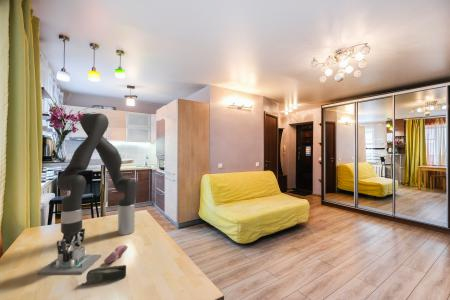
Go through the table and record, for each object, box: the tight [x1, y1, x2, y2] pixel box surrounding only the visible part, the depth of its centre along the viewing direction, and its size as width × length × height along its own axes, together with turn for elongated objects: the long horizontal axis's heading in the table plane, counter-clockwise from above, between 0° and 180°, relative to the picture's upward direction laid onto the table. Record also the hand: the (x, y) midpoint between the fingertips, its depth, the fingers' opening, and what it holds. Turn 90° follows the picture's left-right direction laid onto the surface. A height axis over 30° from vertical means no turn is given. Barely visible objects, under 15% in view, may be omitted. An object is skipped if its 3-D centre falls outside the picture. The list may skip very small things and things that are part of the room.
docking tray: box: [37, 250, 102, 275], centre depth 89 cm, size 13×18×4 cm
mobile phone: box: [81, 264, 127, 286], centre depth 79 cm, size 5×3×15 cm
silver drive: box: [57, 245, 86, 265], centre depth 89 cm, size 4×9×6 cm, turn 91°
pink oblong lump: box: [103, 244, 128, 264], centre depth 94 cm, size 10×5×7 cm, turn 171°
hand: (71, 257), depth 89 cm, fingers open, 5 cm apart
